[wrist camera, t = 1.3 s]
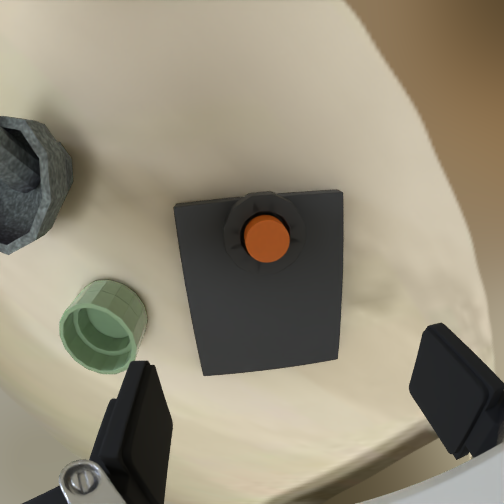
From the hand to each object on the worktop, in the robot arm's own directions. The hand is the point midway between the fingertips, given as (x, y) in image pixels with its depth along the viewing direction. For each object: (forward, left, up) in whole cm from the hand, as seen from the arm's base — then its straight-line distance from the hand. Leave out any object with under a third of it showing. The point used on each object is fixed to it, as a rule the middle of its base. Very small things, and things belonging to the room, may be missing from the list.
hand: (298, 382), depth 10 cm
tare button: (-1, +1, -14) cm, 14 cm away
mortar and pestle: (-8, -17, -17) cm, 26 cm away
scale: (+5, +1, -17) cm, 18 cm away
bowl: (+6, -13, -17) cm, 22 cm away
